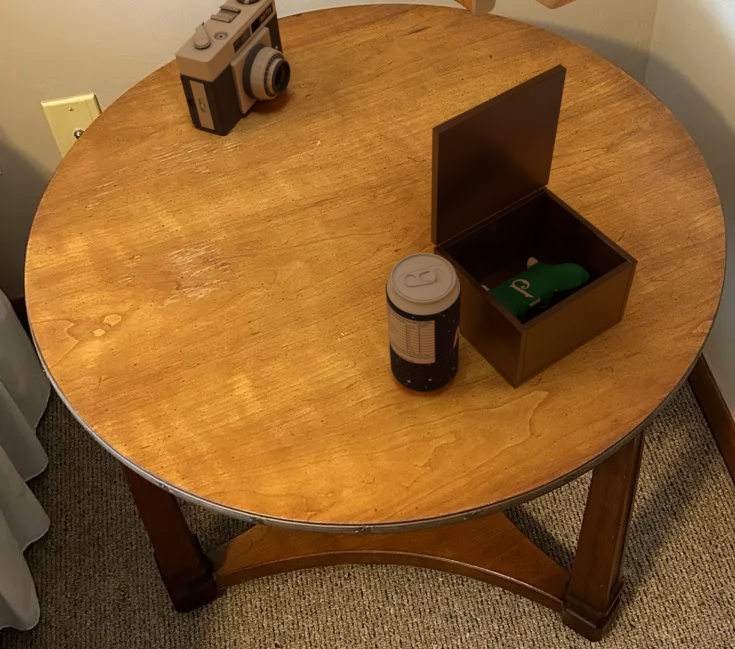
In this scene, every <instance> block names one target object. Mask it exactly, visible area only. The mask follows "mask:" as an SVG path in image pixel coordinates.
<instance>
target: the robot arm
mask: <svg viewBox="0 0 735 649" xmlns="http://www.w3.org/2000/svg"><path fill="white" fill-rule="evenodd" d="M535 1H536V2H537V3H539V4H541V5H543V6H544V7H546V8H547V9H549V10H556V9H559V8H562V7H565V6H567V5H569V4H571V3H574V2H575V1H577V0H535ZM454 2H456V3H457V4H459V5H460V6H462V7H463V8H465V9H466V10H468V11H469V12H470V13H472V14H473V15H474V16H476V17H480V18H481V17H482V16H484V15H486V14H488V13H490V12H492V11H493V10H494V8H495V7H496V2H497V1H496V0H454Z"/></svg>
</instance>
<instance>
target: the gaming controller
mask: <svg viewBox="0 0 735 649" xmlns="http://www.w3.org/2000/svg"><path fill="white" fill-rule="evenodd" d="M589 277H590V276H589V273H588V272H587V271H586V270H585V269H584V268H583V267H581V266H579V265H577V264H568V263H565V264H557V265H549V264H545V263H542V262H538V261H537V260H536V259H535V258H530V259H529V260H528V262H527V270H526V271H524V272H522V273H520V274H519V275H517V276H515V277H513V278H511V279H509V280H508V281H506V282H504V283H502V284H501V285H499V286H497V287H496V288H494V289H488V288H487V287H486V286H484V285H482V287H484V288H485V289H486V290H487V291H488V292H489V293H490V294H491V295H492V296H493V297H494V298H495V299H496V300H497V301H498V302H499V303H500V304H501V305H502V306H503V307H505V308H506V309H507V310H508V311H509V312H510V313H511V314H512V315H513V316H514V317H515V318H516V319H517V320H518V321H519V322H521V321H522V320H523V318H524V317H525V315H526V313H527V311H528V310H530V309H531V308H533V307H535V306H537V305H538V306H539V307H540V308H545V307H547V306H548V305H549V303H550V302H551V301H552V298H553V296H554V295H555V294H556V293H560V292H564V291H569V290H572V289H576V288H579V287H581V286H584V285H585V284H586V283H587V281H588V280H589Z"/></svg>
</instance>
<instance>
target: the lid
mask: <svg viewBox="0 0 735 649" xmlns="http://www.w3.org/2000/svg"><path fill="white" fill-rule="evenodd" d="M567 70H568V68H567V67H565V66H563V65H562V64H561V63H559V64H557V65H555V66H553V67H551V68H549V69H547V70H545V71H543V72H541V73H539V74H537V75H535V76H533V77H531V78H529V79H527V80H525V81H523V82H521V83H519V84H517V85H515V86H513V87H511V88H509V89H507V90H505V91H503V92H501V93H499V94H497V95H495V96H494V97H491V98H489V99H487V100H485V101H483V102H481V103H479V104H478V105H476V106H473V107H472V108H469V109H467V110H465V111H463V112H462V113H459V114H457V115H455V116H454V117H451V118H449V119H448V120H445V121H443V122H442V123H439V124H438V125H435V126H433V127H432V129H431V130H432V131H431V188H430V189H431V190H430V191H431V193H430V194H431V195H430V196H431V197H430V199H431V202H430V203H431V204H430V243H431V244H433V245H434V247H436V246H438V245H440V244H442V243H444V242H445V241H447V240H449V239H451V238H453V237H454V236H456V235H458V234H460V233H462V232H463V231H465V230H467V229H469V228H471V227H472V226H474V225H476V224H478V223H480V222H481V221H483V220H485V219H487V218H489V217H490V216H492V215H494V214H496V213H498V212H499V211H501V210H503V209H505V208H507V207H508V206H510V205H512V204H514V203H515V202H517V201H519V200H521V199H523V198H524V197H526V196H528V195H530V194H532V193H533V192H535V191H537V190H539V189H541V188H543V187H544V186H545V187H547V185H549V181H550V175H551V170H552V163H553V157H554V153H555V152H554V151H555V145H556V139H557V132H558V126H559V121H560V114H561V108H562V101H563V94H564V89H565V84H566V83H565V82H566V77H567Z"/></svg>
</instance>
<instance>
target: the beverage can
mask: <svg viewBox="0 0 735 649" xmlns="http://www.w3.org/2000/svg"><path fill="white" fill-rule="evenodd" d="M385 298H386V300H385V301H386V314H387V330H388V344H389V358H390V359H389V360H390V371H391V373H392V376H393V377H394V379H395V380H396V381H397V382H398V383H399V384H400V385H402V386H403V387H405V388H407V389H408V390H411V391H414V392H421V393H428V392H434V391H438V390H441V389H442V388H444V387H446V386H448V385H449V384H450V383H451V382H452V381H453V380H454V378H455V377H456V376H457V372H458V370H459V357H460V356H459V353H460V334H461V333H460V307H461V283H460V280H459V278H458V276H457V275H456V272H455V270H454V268H453V266H452V265H451V264H450V262H448V261H447V260H446V259H444V258H443V257H441V256H438V255H435V254H434V253H430V252H417V253H412V254H409V255H406V256H404V257H403V258H401V259H400V260H398V261H397V262H396V263H395V265H394V266H393V267H392V270H391V272H390V275H389V277H388V279H387V281H386V284H385Z"/></svg>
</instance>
